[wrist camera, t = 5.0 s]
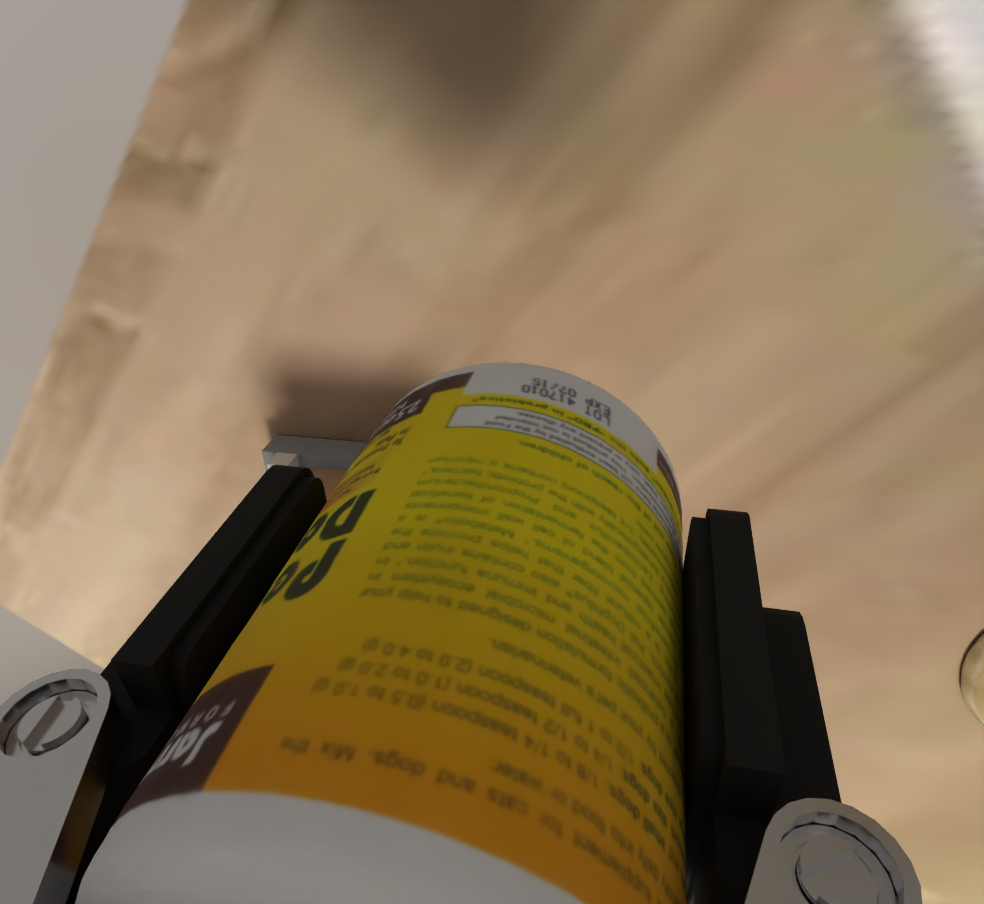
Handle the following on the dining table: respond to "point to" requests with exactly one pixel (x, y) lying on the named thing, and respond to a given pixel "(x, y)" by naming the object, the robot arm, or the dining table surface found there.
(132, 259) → the dining table surface
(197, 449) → the dining table surface
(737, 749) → the robot arm
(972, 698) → the hand bell
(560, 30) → the dining table surface
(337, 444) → the rail
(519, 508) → the supplement bottle
